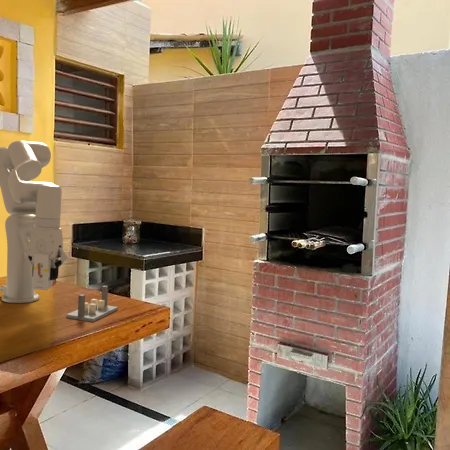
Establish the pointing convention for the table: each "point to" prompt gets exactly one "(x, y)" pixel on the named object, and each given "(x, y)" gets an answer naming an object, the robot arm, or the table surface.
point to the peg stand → (92, 308)
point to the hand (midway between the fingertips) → (45, 277)
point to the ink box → (42, 272)
